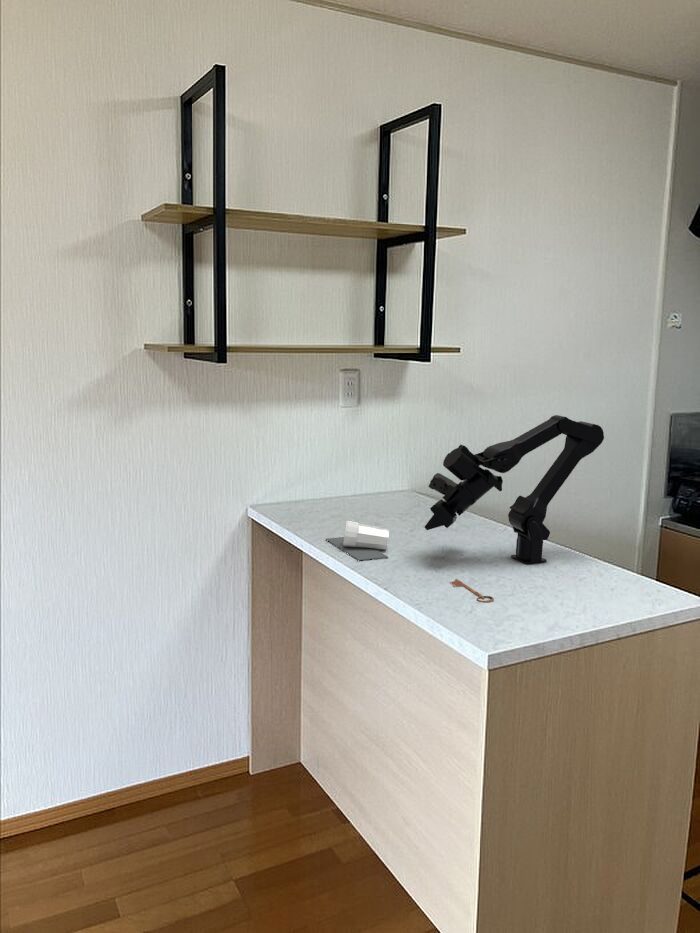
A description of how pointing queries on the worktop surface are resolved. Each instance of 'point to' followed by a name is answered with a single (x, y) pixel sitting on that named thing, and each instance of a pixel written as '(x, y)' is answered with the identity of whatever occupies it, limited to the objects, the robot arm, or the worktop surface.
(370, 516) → the worktop surface
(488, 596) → the key
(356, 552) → the mat
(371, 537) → the cup
